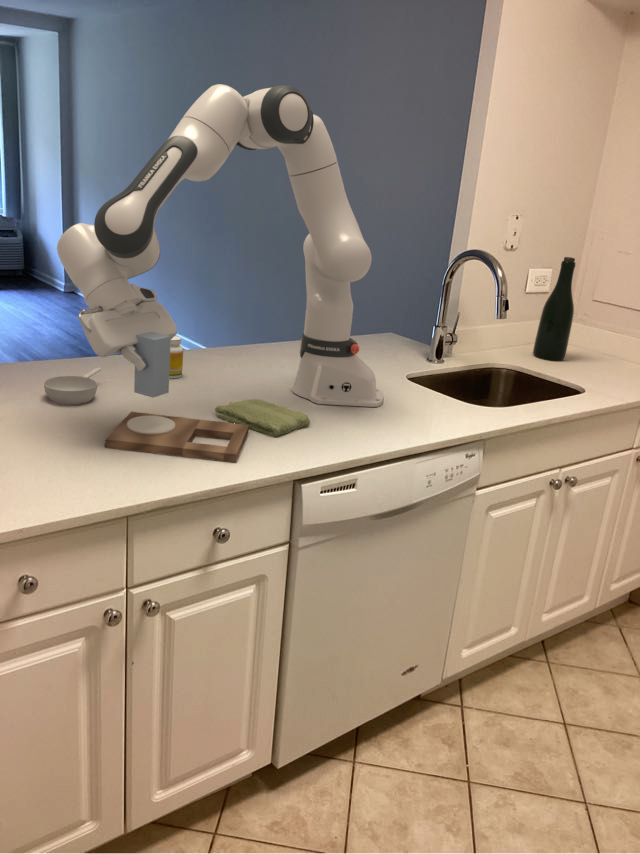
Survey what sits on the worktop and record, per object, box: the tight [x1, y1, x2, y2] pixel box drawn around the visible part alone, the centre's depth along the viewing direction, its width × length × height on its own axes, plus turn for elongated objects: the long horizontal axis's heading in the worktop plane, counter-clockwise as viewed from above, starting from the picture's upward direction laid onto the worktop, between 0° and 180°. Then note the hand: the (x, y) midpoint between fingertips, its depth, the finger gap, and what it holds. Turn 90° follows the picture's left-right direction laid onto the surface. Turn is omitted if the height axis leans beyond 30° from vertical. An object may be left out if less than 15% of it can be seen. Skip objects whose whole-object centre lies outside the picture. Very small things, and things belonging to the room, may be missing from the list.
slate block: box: [133, 332, 171, 399], centre depth 136 cm, size 4×4×11 cm
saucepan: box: [43, 367, 102, 406], centre depth 158 cm, size 11×18×4 cm, turn 168°
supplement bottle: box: [169, 335, 184, 379], centre depth 177 cm, size 5×5×10 cm
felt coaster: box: [127, 416, 175, 435], centre depth 140 cm, size 9×9×1 cm
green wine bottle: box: [532, 256, 577, 362], centre depth 237 cm, size 10×10×33 cm
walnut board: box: [104, 411, 250, 463], centre depth 139 cm, size 24×16×2 cm, turn 87°
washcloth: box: [214, 398, 311, 437], centre depth 154 cm, size 13×18×3 cm
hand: (155, 365), depth 136 cm, fingers closed on slate block, 4 cm apart
